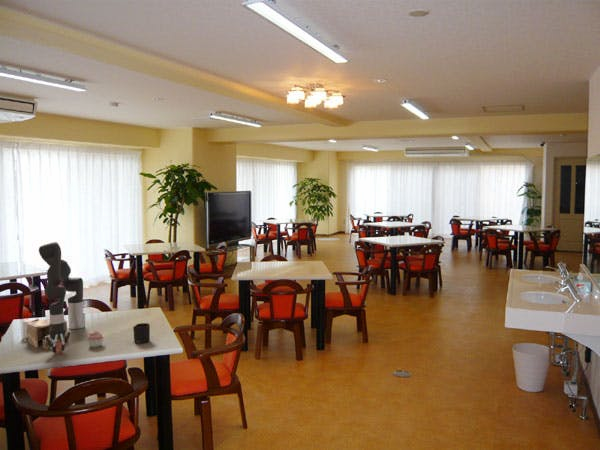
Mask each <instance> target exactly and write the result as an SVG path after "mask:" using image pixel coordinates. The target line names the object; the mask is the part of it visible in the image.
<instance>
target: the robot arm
mask: <svg viewBox="0 0 600 450" xmlns="http://www.w3.org/2000/svg"><path fill="white" fill-rule="evenodd" d="M38 253H39V256H40V257H41V259H42V260H43V261H44V262H45V263H46V264H47V265H48V266H49V267H48V269H47V272H46V279H47V284H46V288H45V290H44V291H45V292H44V296H45V298H46V299H48V300H56V299H57V300H58V301H55V302H53V303H52V302H51V303H50V304H49V307H48V308H49V318H48V319H49V321H50V334H49V335H48V336H45V337H44V338H45V340H46V342H47V344H48V345H49V346H52V350H51V352H52V353H53V354H55V353H56V346H55V345H56V341H57V340H58V339H59V340H61V342H62V352H64V351H65V344H67V343H68V342H69V340H70V336H71V332H70V331H67V332H66V331H65V324H64V320H65V314H64V313H65V312H64V302H65V298H66V293H67V292H68V293H74V292H75V295H73V296H69V297H68V298H67V313H68V314H67V315H68V316H67V317H68V329H69V330H79V329H83V328H85V327H86V317H85V316H86V315H85V312H84V280H83V278H82V277H70V274H71V272H72V269H71V266H70V265H69V264H68V263H67V261H66V260H64V259H62V249H61V246H60V244H59V243H58V242H56V241H53V242H49V243H47V244H43V245H41V246H39V248H38ZM65 321H66V320H65ZM64 335H66V336H65V339H63V336H64ZM50 337H51V338H52V344H51V342H50V340H49V339H50Z"/></svg>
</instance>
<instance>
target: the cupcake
mask: <svg viewBox="0 0 600 450" xmlns="http://www.w3.org/2000/svg"><path fill="white" fill-rule="evenodd" d="M104 337H105V336H103V334H102V332H100V331H98V329H93V331H92V332H90V333H89V334H88V335H87V339H86V341H87V342H88V345H89V347H90V348H93V349H95V348H99V347H101V346H102V345H103V342H104V341H103V340H104Z"/></svg>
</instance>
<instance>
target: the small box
mask: <svg viewBox="0 0 600 450" xmlns="http://www.w3.org/2000/svg"><path fill="white" fill-rule="evenodd" d="M34 321H40V319H39V318H28V319H26V320H23V321H22V323H21V324H22V338H23V339H28V336H27V323H29V322H34Z"/></svg>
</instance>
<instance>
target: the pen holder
mask: <svg viewBox="0 0 600 450" xmlns="http://www.w3.org/2000/svg"><path fill="white" fill-rule="evenodd" d="M132 329H133V341H134V343H135V344H137V345H138V344H139V345H140V344H146V343H149V342H150V338H151V337H150V336H151V335H150V334H151V332H150V330H151V327H150V324H149V323H143V322H140V323H138V324H137V323H136V325H134V326H133V328H132Z"/></svg>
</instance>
